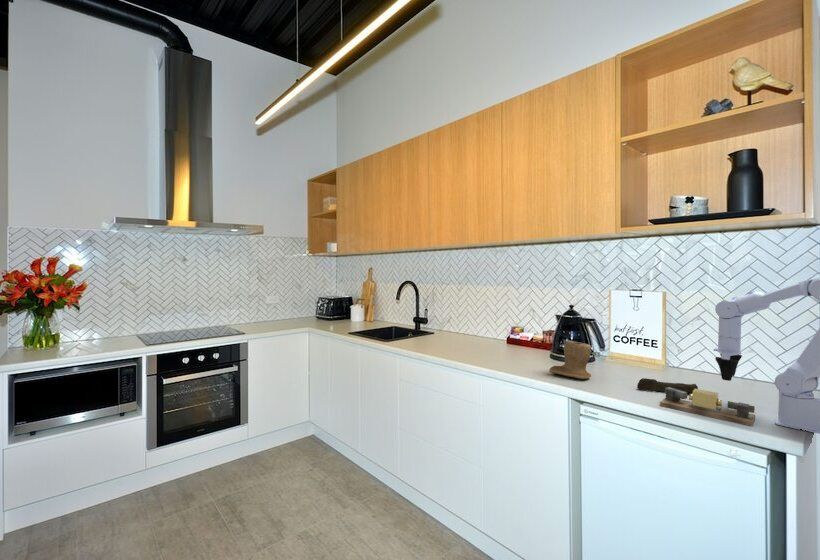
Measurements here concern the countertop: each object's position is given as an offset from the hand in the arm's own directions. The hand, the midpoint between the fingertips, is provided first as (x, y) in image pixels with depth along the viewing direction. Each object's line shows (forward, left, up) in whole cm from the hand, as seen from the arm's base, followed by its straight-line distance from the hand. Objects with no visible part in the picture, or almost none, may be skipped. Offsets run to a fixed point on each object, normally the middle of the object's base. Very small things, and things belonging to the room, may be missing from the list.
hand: (728, 377), depth 128 cm
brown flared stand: (+51, +2, -10) cm, 52 cm away
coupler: (+4, +12, -8) cm, 15 cm away
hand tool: (+18, -2, -10) cm, 20 cm away
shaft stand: (+4, +12, -9) cm, 16 cm away
